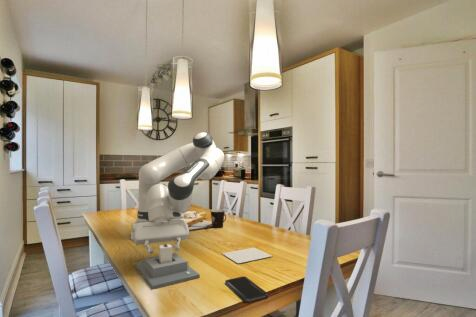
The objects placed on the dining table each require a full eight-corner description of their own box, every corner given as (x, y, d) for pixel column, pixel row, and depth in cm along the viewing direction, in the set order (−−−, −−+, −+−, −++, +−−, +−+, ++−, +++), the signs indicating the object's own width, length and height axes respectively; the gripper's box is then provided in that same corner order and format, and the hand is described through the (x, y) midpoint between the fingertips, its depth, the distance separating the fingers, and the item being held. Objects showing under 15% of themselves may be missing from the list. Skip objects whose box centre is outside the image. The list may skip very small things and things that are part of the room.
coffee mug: (209, 226, 172) (209, 209, 172) (222, 225, 175) (222, 209, 175) (213, 230, 161) (213, 213, 161) (227, 229, 164) (227, 212, 164)
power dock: (134, 265, 106) (134, 254, 106) (174, 257, 115) (174, 247, 115) (152, 289, 86) (152, 276, 86) (199, 277, 95) (199, 265, 95)
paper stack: (287, 264, 107) (287, 263, 107) (230, 278, 94) (230, 276, 94) (254, 248, 127) (254, 247, 127) (203, 258, 115) (203, 256, 115)
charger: (159, 267, 101) (159, 244, 101) (170, 265, 103) (170, 243, 103) (160, 271, 98) (160, 247, 98) (172, 269, 99) (172, 246, 99)
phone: (245, 300, 77) (224, 280, 90) (245, 304, 77) (224, 283, 90) (269, 294, 81) (245, 275, 94) (269, 298, 81) (245, 279, 94)
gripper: (132, 216, 103) (133, 250, 94) (186, 212, 112) (192, 243, 102) (132, 226, 107) (133, 259, 98) (184, 221, 116) (189, 252, 106)
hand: (164, 251), depth 100 cm, fingers open, 8 cm apart
